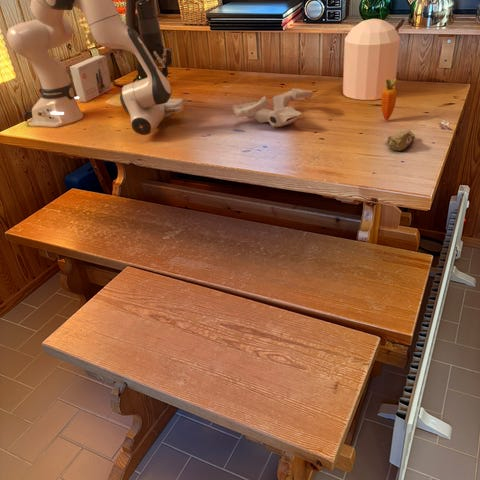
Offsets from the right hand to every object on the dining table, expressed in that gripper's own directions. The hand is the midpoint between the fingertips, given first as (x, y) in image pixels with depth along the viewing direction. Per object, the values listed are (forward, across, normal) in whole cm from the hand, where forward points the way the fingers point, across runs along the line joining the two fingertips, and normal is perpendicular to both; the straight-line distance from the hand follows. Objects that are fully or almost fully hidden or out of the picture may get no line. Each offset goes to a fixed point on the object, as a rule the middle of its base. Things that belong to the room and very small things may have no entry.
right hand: (158, 77), depth 182 cm
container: (+16, -80, -29) cm, 87 cm away
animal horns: (+16, -49, +9) cm, 52 cm away
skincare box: (+16, +46, -26) cm, 55 cm away
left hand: (+9, 0, -1) cm, 9 cm away
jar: (+16, 0, 0) cm, 16 cm away
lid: (-2, 0, 0) cm, 2 cm away
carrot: (+16, -87, +4) cm, 89 cm away
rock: (+16, -92, +26) cm, 97 cm away
